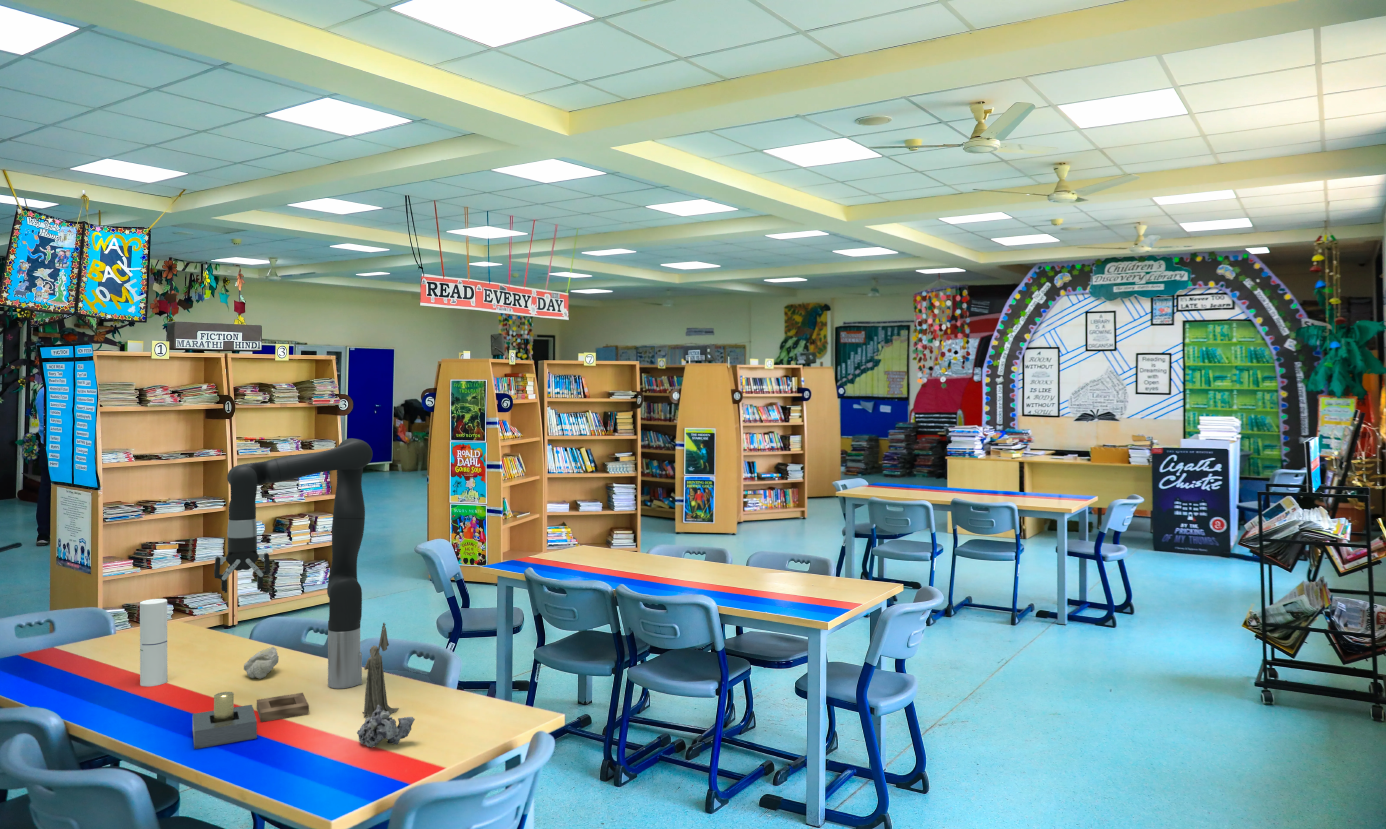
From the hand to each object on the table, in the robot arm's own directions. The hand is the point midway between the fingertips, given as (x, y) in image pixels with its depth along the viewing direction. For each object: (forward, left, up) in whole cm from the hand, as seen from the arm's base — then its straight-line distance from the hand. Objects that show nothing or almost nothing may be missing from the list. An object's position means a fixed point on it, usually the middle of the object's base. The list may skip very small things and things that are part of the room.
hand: (242, 590), depth 254 cm
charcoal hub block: (+6, +25, -32) cm, 41 cm away
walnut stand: (-9, +14, -32) cm, 36 cm away
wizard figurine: (-32, +28, -32) cm, 53 cm away
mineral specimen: (-28, +51, -32) cm, 67 cm away
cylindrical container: (+22, -32, -32) cm, 51 cm away
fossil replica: (-7, -24, -32) cm, 41 cm away
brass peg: (+6, +25, -32) cm, 41 cm away
